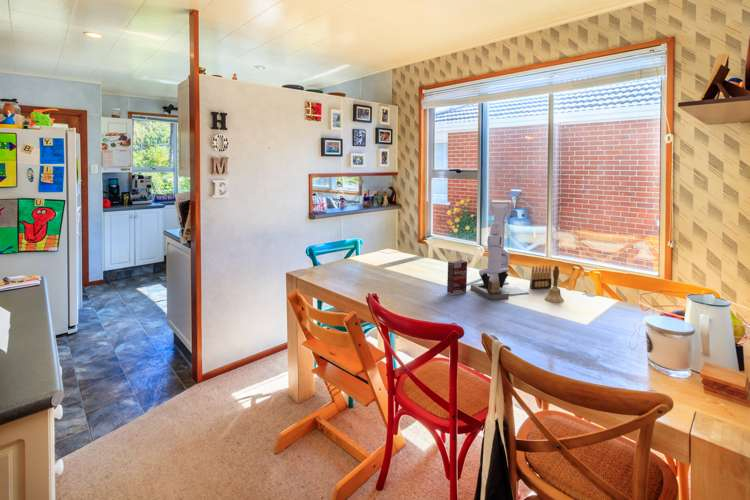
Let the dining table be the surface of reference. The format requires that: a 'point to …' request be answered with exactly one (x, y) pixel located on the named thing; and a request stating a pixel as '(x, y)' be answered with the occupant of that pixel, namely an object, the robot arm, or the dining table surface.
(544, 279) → the ammunition clip
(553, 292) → the hand bell
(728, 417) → the dining table surface
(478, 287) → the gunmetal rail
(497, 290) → the walnut peg
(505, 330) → the dining table surface
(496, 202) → the robot arm
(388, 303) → the dining table surface
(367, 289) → the dining table surface
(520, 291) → the blue-grey board
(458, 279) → the supplement box
